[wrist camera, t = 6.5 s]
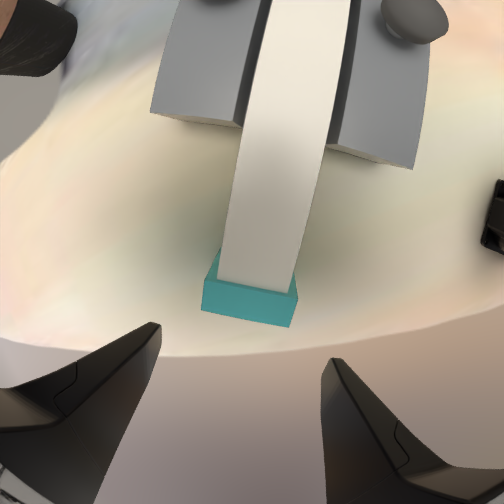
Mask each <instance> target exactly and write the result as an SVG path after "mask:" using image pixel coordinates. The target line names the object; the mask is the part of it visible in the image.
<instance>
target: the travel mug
mask: <svg viewBox="0 0 504 504" xmlns="http://www.w3.org/2000/svg"><path fill="white" fill-rule="evenodd" d="M76 32H77V20H76V18H75V17H74V16H73V15H72V14H71V13H69V12H67V11H66V10H64V9H62V8H60V7H58V6H56V5H54V4H52V3H50V2H48V1H46V0H0V75H17V76H32V77H40V76H44V75H46V74H48V73H50V72H51V71H52V70H54V69H55V68H56V67H57V66H58V65H59V64H60V63H61V61H62V60H63V59H64V57H65V56H66V55H67V53H68V51H69V50H70V48H71V46H72V44H73V42H74V39H75V36H76Z"/></svg>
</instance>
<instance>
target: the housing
mask: <svg viewBox="0 0 504 504" xmlns="http://www.w3.org/2000/svg"><path fill="white" fill-rule="evenodd" d="M272 1H273V0H180V2H179V4H178V7H177V10H176V13H175V16H174V19H173V22H172V25H171V28H170V32H169V35H168V38H167V42H166V45H165V49H164V52H163V56H162V60H161V64H160V67H159V72H158V76H157V80H156V84H155V89H154V93H153V98H152V103H151V108H150V113H154V114H158V115H162V116H166V117H170V118H173V119H177V120H181V121H189V122H198V123H206V124H214V125H221V126H227V127H234V128H240V129H243V128H244V123H245V118H246V113H247V109H248V104H249V99H250V94H251V90H252V85H253V81H254V76H255V72H256V67H257V63H258V58H259V54H260V50H261V46H262V41H263V37H264V33H265V29H266V25H267V21H268V17H269V13H270V9H271V5H272ZM381 2H382V0H351V1H350V9H349V16H348V23H347V30H346V37H345V43H344V49H343V55H342V61H341V67H340V73H339V78H338V84H337V89H336V95H335V100H334V105H333V110H332V115H331V120H330V125H329V129H328V134H327V139H326V144H325V147H327V148H331V149H334V150H338V151H341V152H345V153H348V154H351V155H355V156H358V157H361V158H364V159H367V160H370V161H373V162H376V163H381V164H387V165H392V166H397V167H402V168H407V169H411V170H413V166H414V162H415V157H416V153H417V148H418V143H419V138H420V132H421V126H422V120H423V114H424V107H425V100H426V91H427V82H428V71H429V56H430V43H428V44H425V45H420V44H415V43H412V42H409V41H407V40H405V39H404V38H402V37H400V36H399V35H398V34H397V33H395V32H394V31H393V30H392V29H391V28H390V27H389V25H388V24H387V23H386V21H385V20H384V18H383V16H382V13H381Z"/></svg>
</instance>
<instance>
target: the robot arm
mask: <svg viewBox="0 0 504 504" xmlns="http://www.w3.org/2000/svg"><path fill="white" fill-rule="evenodd" d="M485 241H486V242H485ZM481 244H482V245H483V246H484V247H486V248H489V249H491V250H494V251H496V252H498V253H501V254H503V255H504V180H501V179H499V180H498V182H497V185H496V190H495V194H494V198H493V202H492V206H491V210H490V213H489V217H488V220H487V224H486V227H485V230H484V233H483V236H482V239H481ZM161 343H162V327H161V325H160V324H157V323H154V322H148V323H146V324H145V325H143V326H141V327H139V328H137V329H135V330H133V331H132V332H130V333H128V334H126V335H124V336H122V337H120V338H118V339H117V340H115V341H113V342H111V343H109V344H107V345H105V346H103V347H101V348H100V349H98V350H96V351H94V352H92V353H90V354H88V355H86V356H84V357H82V358H81V359H79V360H77V362H73V363H71V364H69V365H67V366H65V367H63V368H61V369H59V370H57V371H55V372H52V373H50V374H47V375H45V376H42V377H40V378H37V379H34V380H32V381H29V382H26V383H23V384H21V385H18V386H15V387H11V388H0V504H93V503H94V501H95V498H96V496H97V494H98V491H99V489H100V487H101V484H102V482H103V480H104V476H105V475H106V472H107V470H108V468H109V466H110V463H111V461H112V459H113V457H114V455H115V452H116V450H117V448H118V446H119V443H120V441H121V439H122V437H123V435H124V433H125V431H126V429H127V426H128V424H129V422H130V420H131V418H132V416H133V414H134V412H135V410H136V407H137V405H138V403H139V401H140V399H141V397H142V395H143V393H144V391H145V389H146V387H147V385H148V382H149V380H150V377H151V374H152V371H153V368H154V365H155V362H156V360H157V357H158V354H159V351H160V348H161ZM321 425H322V437H323V449H324V463H325V478H326V497H327V504H504V469H475V468H463V467H456V466H452V465H450V464H448V463H446V462H445V461H443V460H442V459H441V458H440V457H438V456H437V455H436V454H435V453H434V452H432V451H431V450H430V449H429V448H428V447H427V446H426V445H424V444H423V443H422V442H421V441H420V440H419V439H418V438H416V437H415V436H414V435H413V434H412V433H411V432H410V431H409V430H408V429H407V428H406V427H405V426H404V425H403V423H402V422H401V421H400V420H398V418H397V417H396V416H395V415H394V414H393V413H392V412H391V411H390V410H389V409H388V408H387V407H386V405H385V404H384V403H383V402H382V401H381V400H380V399H379V398H378V397H377V396H376V395H375V394H374V393H373V392H372V391H371V390H370V388H369V387H368V386H367V385H366V384H365V383H364V382H363V381H362V380H361V379H360V378H359V376H358V375H357V374H356V373H355V372H354V371H353V370H352V369H351V368H350V367H349V366H348V365H347V364H346V362H344V360H343V359H341V358H330V360H329V361H328V363H327V365H326V367H325V369H324V371H323V373H322V377H321Z"/></svg>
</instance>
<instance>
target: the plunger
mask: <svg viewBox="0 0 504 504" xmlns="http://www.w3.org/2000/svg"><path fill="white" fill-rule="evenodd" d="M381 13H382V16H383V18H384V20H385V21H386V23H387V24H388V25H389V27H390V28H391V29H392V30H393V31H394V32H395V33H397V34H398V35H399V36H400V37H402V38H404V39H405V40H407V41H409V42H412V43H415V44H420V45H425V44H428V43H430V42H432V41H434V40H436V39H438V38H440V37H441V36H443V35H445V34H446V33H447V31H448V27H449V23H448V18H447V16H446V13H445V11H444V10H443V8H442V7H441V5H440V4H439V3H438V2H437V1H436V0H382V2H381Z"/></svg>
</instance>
